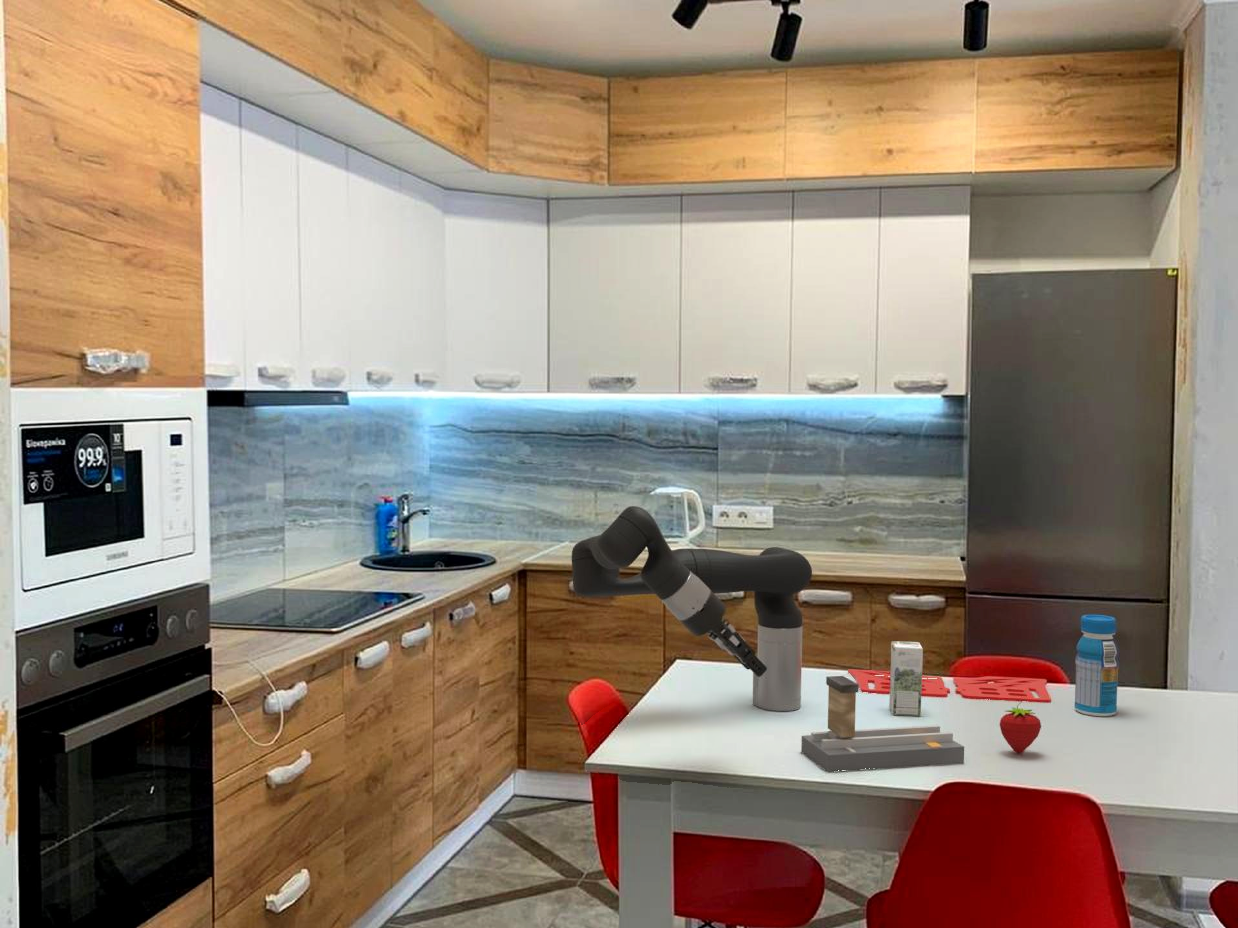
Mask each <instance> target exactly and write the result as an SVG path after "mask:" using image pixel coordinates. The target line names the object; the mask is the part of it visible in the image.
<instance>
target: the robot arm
mask: <svg viewBox="0 0 1238 928" xmlns="http://www.w3.org/2000/svg"><path fill="white" fill-rule="evenodd" d="M646 549H647V552H648V553H647V554H648V555H647V559H646V561H645V563H644V565H643V567H642V569H641V571H640V572H639V573H638V574H636V575H634V576H632V577H629V578H621V571H620V569H626V568H628V567H629V566H630V565H632V564H633V563H634V562H635V561H636V559H638V558H639V556H640V555H641V554H642V553H643V552H644V550H646ZM571 568H572V571H571V572H572V588H573V592H574V594H575V595H576V596H579V597H583V598H608V597H623V596H635V595H638V596H639V595H656V596H657V597H658V598H659V599H660V601H662V603H663V604H664V605H665V607H666V608H667V609H668V611H669V612H670V613H671V614H672V615H674V617H676V619H678V621H679V622H680V623H681V624H682V625H683V626H684V627H685V628H686V629H687V630H688V632H690V633H691V635H693V636H695V637H702V636H704V635H707V634H708V635H707V636H708V638H709V639H711V641H713V642H714V643H716V645H717V646H719V648H721V650H723V651H726V652H727V653H728V655H730V656H733V657H734V659H736V660H737V662H739V663H740V664H741V665H742V666H743V668H744V669H746V670H750V671H751V672H752V705H753V706H757V707H758V708H761V709H764V710H768V711H775V712H789V711H795V710H798V709H800V708H801V706H802V704H801V703H802V701H801V700H802V667H803V666H802V665H803V664H802V660H803V658H802V657H803V612H802V611H801V609H800V608H799V607H798V605H797V603H796V601H795V599H794V595H796V594H797V593H799V592H800V593H801V592H802V591H803V590H805V589H806V587H807V586H808V585H809V584H810V582H811V579H812V576H813V569H812V565H811V563H810V562H809V560H808V559H807V558H806V557H805V556H804V555H802V554H801V553H799V552H798V551H795V550H791V549H787V548H783V547H779V546H778V547H777V546H771V547H767V548H765V549H764V550H763V551H761V552H760V554H759V555H755V554H754V555H753V554H752V555H751V554H743V553H737V552H732V551H726V550H721V549H720V550H719V549H709V548H677V549H674V550H672V549H671V547H670V546H669V544H668V543H667V540H666V539H665V537H664V535H663V533H662V530H660V527H659V526H658V524H657V522H656V520H655V519H654V517H653V516H652V514H650V512H649V511H647V510H645V509H644V508H642V507H641V506H635V505H631V506H628V507H626V508H625V509H623V511H622V512H620V514H619V515H618V516H617V518H616V519H615V520H614V521H613V522H612V523H611V524H610V525H609V526H608V528H606V529H605V530H604V531H603V532H601V534H599V535H595V536H592V537H589V538H586V539H583V540H581V541H579V542H577V543H576V544H574V546H573V547H572V550H571ZM741 592H753V594H754V595H753V596H754V597H753V598H754V609H755V612H756V614H757V656H756V652H755V650H754V649H753V648H751V646H750V645H749V644H748V643H747V642H746V640H745V638H744V637H742V635H741V634H740V633H739V632H738V631H736V629H735V627H734V626H733V625H732V624H731V623H730V622H727V621H726V620H725V619H723V618H724V616H725V613H726V610H727V608H726V604H724V602H723V601H722V600H721V599H720V598H719V597H718V596H717V595H718V594H731V593H741Z"/></svg>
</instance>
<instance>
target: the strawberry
mask: <svg viewBox="0 0 1238 928" xmlns="http://www.w3.org/2000/svg"><path fill="white" fill-rule="evenodd" d="M1021 703H1022V701H1019V703H1018V704H1017V705H1016V707H1014V706H1012V707H1011V709H1009V710H1007V709H1006V710H1005V712H1006V714H1004V715H1003V716H1001V718H1000V720H999V723H998V724H999V728H1000V733H1001V734H1002V736H1003V739H1004V740H1005V741H1006V743H1007V744H1008V745H1009V746H1010V748H1011V749H1012V750H1013V752H1014V754H1017V755H1021V754H1023V753H1024V752H1025V751H1026V750H1027V749H1028V747H1030V746H1031V745H1032V744H1033V743H1034V742H1035V740H1036V739H1037V738H1038V737H1039V735H1040V731H1041V729H1042V724H1041V720H1040V718H1039V717H1037V716H1036V712H1032V711H1033V709H1023V708H1019V707H1018V706H1019V705H1020V704H1021Z"/></svg>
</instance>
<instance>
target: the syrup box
mask: <svg viewBox="0 0 1238 928" xmlns="http://www.w3.org/2000/svg"><path fill="white" fill-rule="evenodd" d="M923 655H924V649H923V647H922V645H921V643H920V642H917V641H895V640H894V641H893V640H892V641H891V644H890V671H891V672H890V695H889V706H888V707H889V710H890V711H891V714H892V715H893V716H903V717H904V716H905V717H921V715H922V713H921V712H922V696H921V690H922V675H923V661H924V659H923V658H924V656H923Z"/></svg>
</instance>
